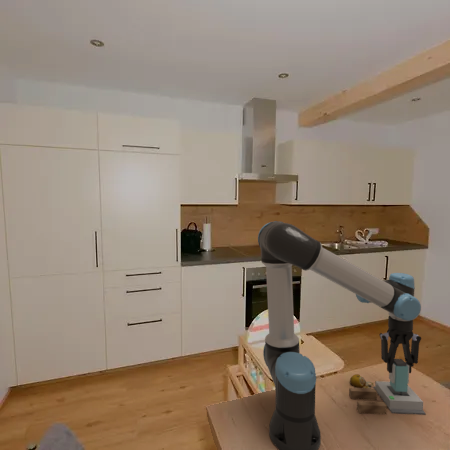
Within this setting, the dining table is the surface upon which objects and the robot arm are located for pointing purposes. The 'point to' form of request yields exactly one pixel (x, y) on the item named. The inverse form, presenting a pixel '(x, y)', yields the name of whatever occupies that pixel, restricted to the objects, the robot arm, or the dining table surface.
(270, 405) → the dining table surface
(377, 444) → the dining table surface
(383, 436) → the dining table surface
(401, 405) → the port
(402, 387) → the plug
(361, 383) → the fruit
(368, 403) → the pair of wooden rails
